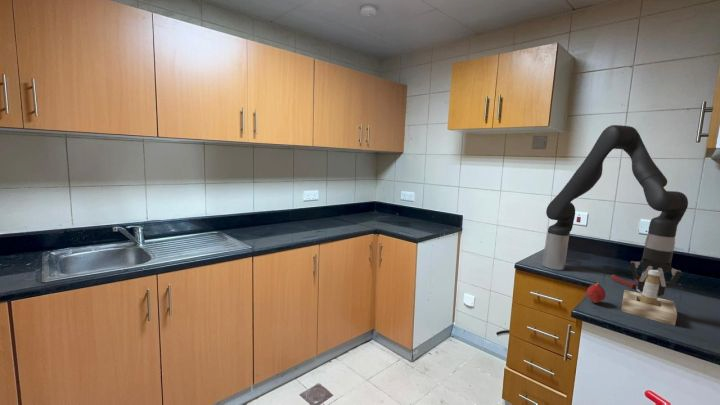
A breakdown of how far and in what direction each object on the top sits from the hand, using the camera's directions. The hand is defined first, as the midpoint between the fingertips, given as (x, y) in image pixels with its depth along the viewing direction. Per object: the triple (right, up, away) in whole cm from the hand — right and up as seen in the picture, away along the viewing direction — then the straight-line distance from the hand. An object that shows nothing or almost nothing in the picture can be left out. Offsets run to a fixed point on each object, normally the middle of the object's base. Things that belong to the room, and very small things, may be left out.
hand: (649, 293), depth 115 cm
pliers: (+14, -5, +25) cm, 29 cm away
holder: (0, -7, +1) cm, 7 cm away
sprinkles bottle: (0, -4, +1) cm, 4 cm away
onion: (-16, -6, +6) cm, 18 cm away
